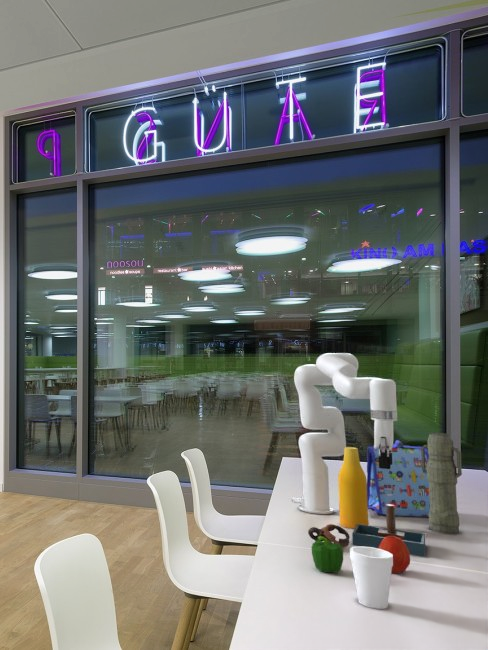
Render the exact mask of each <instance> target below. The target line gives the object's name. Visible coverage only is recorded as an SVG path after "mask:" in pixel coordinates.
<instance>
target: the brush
mask: <svg viewBox="0 0 488 650" xmlns="http://www.w3.org/2000/svg"><path fill="white" fill-rule="evenodd" d="M385 516H386V528H387V530H385V529H379V531H378V536H379V537H387V536H393V535H394V536H396V537H398V538H400V539H401V540H405V532H398V531H396V530H397V529H396V527H397V526H396V516H395V506H394V505H391V504H386V515H385Z"/></svg>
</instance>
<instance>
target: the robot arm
mask: <svg viewBox="0 0 488 650" xmlns="http://www.w3.org/2000/svg"><path fill="white" fill-rule="evenodd" d="M359 365H360V364H359V361H358V358H357V357H356V356H355V355H353V354H351V353H348V352H336V353H335V352H333V353H332V352H327V353H323V354H320V355H319V356H318V357H317V358H316V360H315V364H303V365H300V366H297V368H296V369H295V371H294V374H293V381H294V386H295V388H296V392H297V394H298V403H299V415H300V422H301V425H302V427H303V428H304V429H306V430H327V432H306V433H304V434H301V435H300V436H299V438H298V448H299V451H300V452H299V453H300V457H301V459H300V460H301V471H302V472H301V473H302V475H301V477H302V478H301V479H302V497H299V498H298V497H294V496H293V497H291V502H292V503H293V504H299V506H298V507H299V508H298V509H299V510H300V511H302V512H305V513H309V514H315V515H331V514H334V513H335V509H334V507H331V505H330V479H329V477H330V476H329V467H328V465H327V463H326V462H325V459H323V457H342V456H344V450H345V447H347V439H346V429H345V419H344V416H343V413H342V411H341V410H340V409H339V408H338V407H336V406H331V405H330V406H328V405H327V406H324V405H323V396H322V394H321V392H320V391H319V389H318V387H316V386H332V387H333V389H334V390H335V392H337V393H338V394H340V395H341V396H342V397H345V398H347V399H351V400H369V405H370V406H369V408H370V420H372V421H373V422H374V423H373V429H374V430H373V439H374V440H373V441H374V442H373V443H374V444H373V446H374V448H375V449H377V448H379V468H382V469H390V468H391V467H390V465H392V453H391V449H392V448H393V445H394V422H397V421H398V408H397V407H398V406H397V385H396V384H397V383H396V382H395V380H393V379H386V378H380V377H357V375H358V370H359Z"/></svg>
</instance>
